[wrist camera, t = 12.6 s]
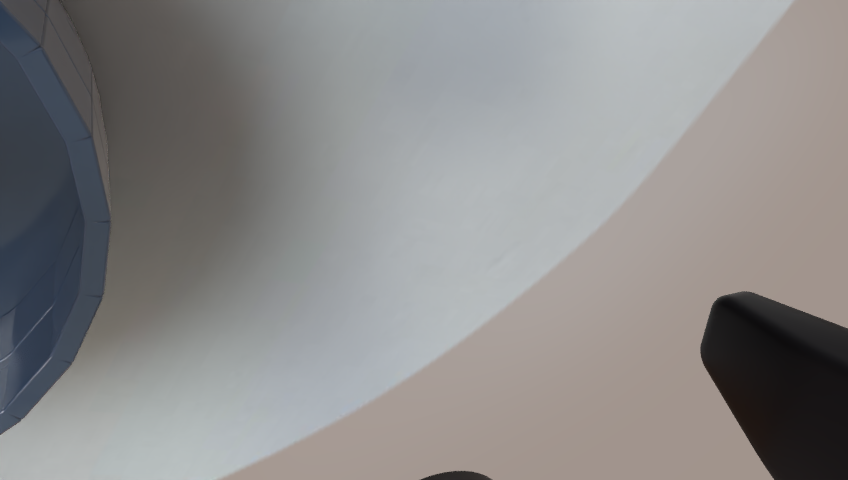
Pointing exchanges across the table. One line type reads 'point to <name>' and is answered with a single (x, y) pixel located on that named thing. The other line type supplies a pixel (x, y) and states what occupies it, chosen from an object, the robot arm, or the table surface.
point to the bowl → (47, 201)
